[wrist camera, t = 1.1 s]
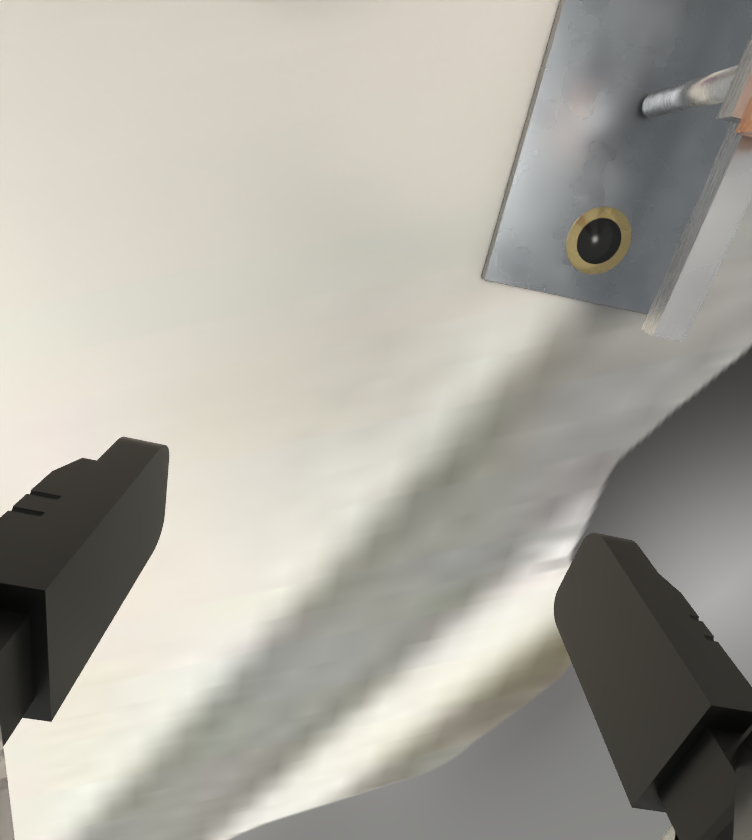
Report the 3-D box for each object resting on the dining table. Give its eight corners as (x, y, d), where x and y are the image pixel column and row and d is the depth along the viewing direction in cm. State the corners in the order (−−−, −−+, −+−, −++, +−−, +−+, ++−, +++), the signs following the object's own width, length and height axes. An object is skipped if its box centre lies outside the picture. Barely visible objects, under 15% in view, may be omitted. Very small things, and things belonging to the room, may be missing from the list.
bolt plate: (612, -184, 23) (742, -381, 15) (847, -113, 24) (1087, -261, 16) (481, 277, 32) (518, 309, 24) (658, 314, 33) (751, 357, 25)
